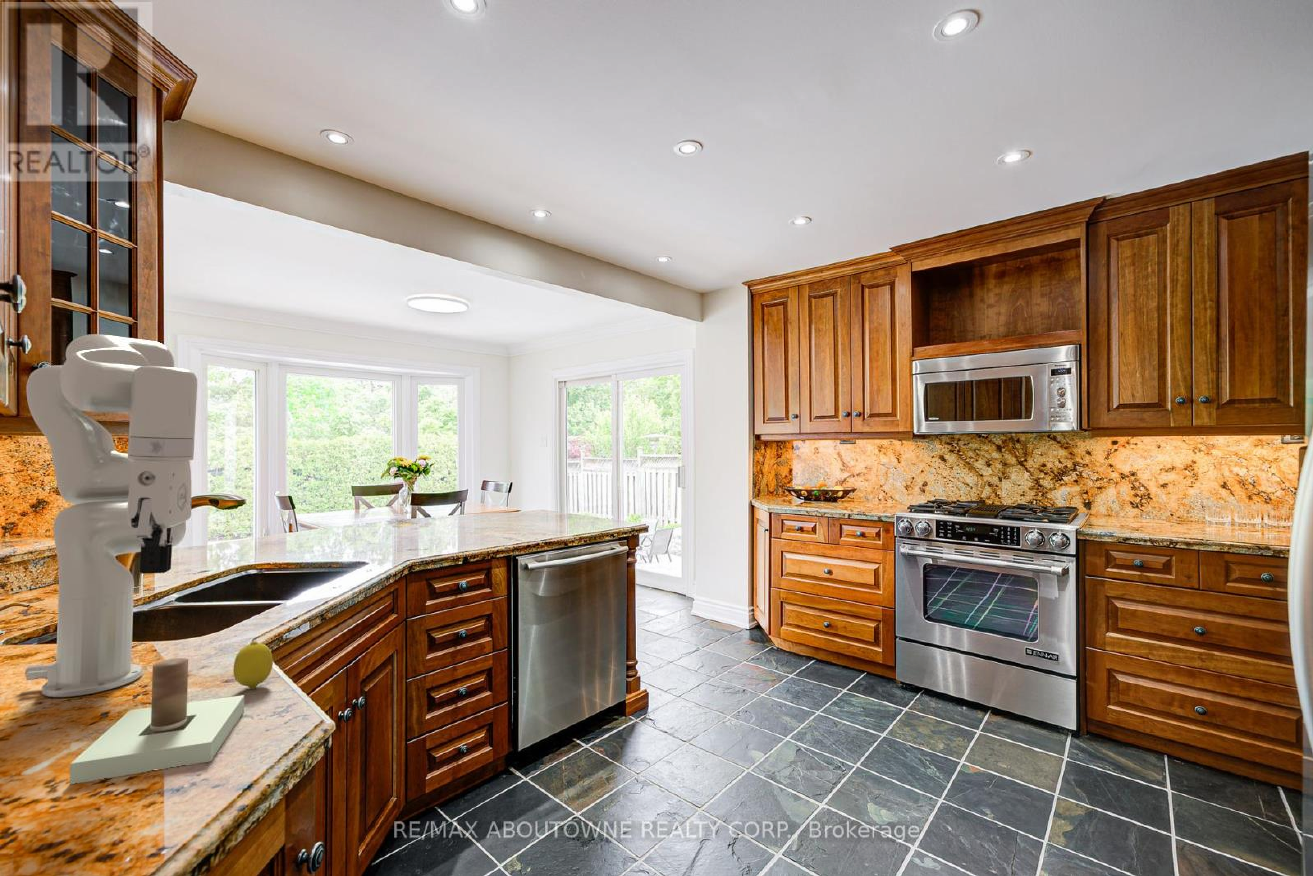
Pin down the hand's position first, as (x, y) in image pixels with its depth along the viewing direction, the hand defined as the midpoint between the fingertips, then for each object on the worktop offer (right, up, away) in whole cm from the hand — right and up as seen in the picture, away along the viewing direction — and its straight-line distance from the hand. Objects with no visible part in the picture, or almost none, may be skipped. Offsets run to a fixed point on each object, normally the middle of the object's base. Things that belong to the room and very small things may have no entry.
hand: (155, 571), depth 87 cm
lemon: (+6, -23, +12) cm, 27 cm away
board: (+7, -22, -6) cm, 24 cm away
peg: (+7, -22, -6) cm, 24 cm away
